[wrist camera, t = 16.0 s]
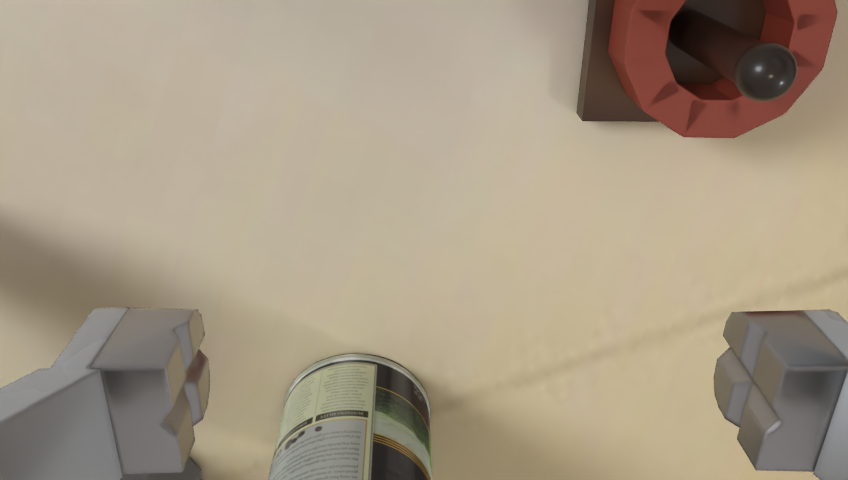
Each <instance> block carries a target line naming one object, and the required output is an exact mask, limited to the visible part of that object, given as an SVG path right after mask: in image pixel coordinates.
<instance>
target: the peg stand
mask: <svg viewBox="0 0 848 480" xmlns="http://www.w3.org/2000/svg"><path fill="white" fill-rule="evenodd" d="M614 3H615V0H589V8H588V17H587V25H586V34H585V43H584V52H583V61H582V70H581V79H580V88H579V97H578V105H577V114H578V116H579V117H580V118H581V120H582V121H640V122H659V121H658V120H656V119H655V118H653V117H652V116H650V115H648V114H647V113H645V112H644V111H643V110H642V109H641V108H640V107H639V106H638V105H637V104H636V103H635V102H634V101H633V100H632V99H631V98H630V97H629V96H628V95H627V94H626V93H625V90H624V88H623V86H622V83H621V81H620V79H619V76H618V74H617V72H616V69H615V67H614V65H613V62H612V60H611V57H610V55H609V53H608V46H609V39H610V32H611V25H612V17H613V10H614ZM765 15H766V11H765V8H764V5H763V2H762V0H686V1H685V3H684V4H683V5H682V7H681V8H680V9H679V11H678V12H677V13H676V15H675V16H674V18H673V19H672V20H671V24H670V29H669V35H668V41H667V47H666V53H665V54H666V57H667V59H668V62H669V65H670V67H671V70H672V72H673V75H674V77H675V80H676V81H677V82H679V83H680V84H711V83H713V82H715V81H717V80H719V79H721V78H723V77H724V78H726V79H728V80H729V81H731V82H732V83H734V84H735V85H736V87H737V89H738V90H739V92H740V93H741V94H742V95H744V96H745V97H747V98H749V99H751V100H754V101H760V102H764V101H771V100H774V99H777V98H779V97H781V96H782V95H784V94H785V93H786V92H787V91H788V90H789V89H790V88H791V87H792V85H793V83H794V81H795V79H796V76H797V62H796V59H795V57H794V55H793V54H792V53H791V51H790V50H789V49H788V48H786V47H785V46H783V45H781V44H778V43H774V42H762V41H760V38H761V33H762V29H763V24H764V20H765Z"/></svg>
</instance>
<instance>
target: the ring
mask: <svg viewBox="0 0 848 480" xmlns="http://www.w3.org/2000/svg"><path fill="white" fill-rule="evenodd" d="M685 1H686V0H615V3H614V10H613V17H612V25H611V32H610V39H609V46H608V53H609V55H610V57H611V60H612V62H613V65H614V67H615V69H616V72H617V74H618V76H619V79H620V81H621V83H622V86H623V88H624V90H625V93H626V94H627V95H628V96H629V97H630V98H631V99H632V100H633V101H634V102H635V103H636V104H637V105H638V106H639V107H640V108H641V109H642V110H643V111H644V112H645V113H647V114H648V115H650V116H652V117H653V118H655V119H656V120H658V121H659V122H661V123H662V124H664V125H665V126H667V127H668V128H670V129H672V130H673V131H675V132H676V133H678V134H679V135H681V136H683V137H705V138H735V137H737V136H740V135H742V134H744V133H746V132H748V131H750V130H752V129H754V128H756V127H758V126H760V125H762V124H764V123H766V122H769V121H771V120H773V119H775V118H777V117H779V116H781V115H783V114H784V113H786V112H787V111H788V109H789V108H790V107H791V106H792V105H793V103H794V102H795V101H796V100H797V99H798V98H799V96H800V95H801V94H802V93H803V92H804V90H805V89H806V88H807V87H808V86H809V85H810V83H811V82H812V81H813V80H814V79H815V77H816V76H817V75H818V74H819V73H820V71H821V70H822V68H823V66H824V62H825V58H826V54H827V51H828V47H829V43H830V39H831V36H832V32H833V28H834V25H835V21H836V17H837V8H836V5H835V1H834V0H762V2H763V5H764V8H765V11H766V15H765V20H764V24H763V29H762V33H761V38H760V41H762V42H774V43H778V44H781V45H783V46H785V47H786V48H788V49H789V50H790V51H791V53H792V54H793V55H794V57H795V59H796V62H797V76H796V79H795V81H794V83H793V85H792V87H791V88H790V89H789V90H788V91H787V92H786V93H785V94H784V95H782V96H781V97H779V98H777V99H774V100H771V101H764V102H760V101H754V100H751V99H749V98H747V97H745V96H744V95H742V94H741V93H740V92H739V90H738V89H737V87H736V85H735V84H734V83H732V82H731V81H729V80H728V79H726V78H724V77H723V78H721V79H719V80H717V81H715V82H713V83H711V84H680V83H679V82H677V81H676V80H675V77H674V75H673V72H672V70H671V67H670V65H669V62H668V59H667V57H666V54H665V53H666V47H667V41H668V35H669V29H670V24H671V20H672V19H673V18H674V16H675V15H676V13H677V12H678V11H679V9H680V8H681V7H682V5H683V4H684V3H685Z"/></svg>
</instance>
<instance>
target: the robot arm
mask: <svg viewBox="0 0 848 480" xmlns="http://www.w3.org/2000/svg"><path fill="white" fill-rule="evenodd" d="M204 335H205V332H204V326H203V320H202V315H201V314H200V312H199V311H198V309H157V308H132V309H131V308H129V307H127V308H98V309H94V310H93V311H92V312H91V313H90V314H89V316H88V317H87V318H86V320H85V321H84V323H83V324H82V325H81V327H80V328H79V329H78V331H77V332H76V334H75V335H74V336H73V338H72V339H71V340H70V342H69V343H68V345H67V346H66V347H65V349H64V350H63V351H62V353H61V354H60V356H59V357H58V358H57V360H56V361H55V363H54V364H53V365H52V367H51V368H50V369H38V370H36V371H34V372H32V373H30V374H28V375H26V376H24V377H22V378H20V379H18V380H16V381H14V382H12V383H10V384H8V385H6V386H4V387H2V388H0V480H120V479H121V478H122V474H145V473H178V472H183V471H184V468H185V465H186V463H187V460H188V457H189V455H190V452H191V449H192V447H193V444H194V441H195V436H194V429H193V426H194V425H196V424H197V423H198V422H200V421H201V420H203V417H204V414H205V411H206V408H207V404H208V398H209V391H210V370H209V362H208V358H207V357H206V356H205V355H204V354H203V353H202V352H201V351H200V350H199V347H200V344H201V342H202V340H203V337H204ZM723 336H724V338H725V340H726V341H727V343H728V345H729V346H730V347H729V348H728V349H727V350H726V351H725V352H724V353H723V354H722V355H721V356H720V357H719V358H718V359H717V363H716V368H715V373H714V391H715V397H716V400H717V404H718V407H719V409H720V411H721V412H722V414H723V416H724V418H725V419H726V420H728V421H730V422H731V423H733V424H734V425H736V426H738V427H739V428H740V429H739V433H738V437H737V440H738V441H739V443H740V445H741V446H742V448H743V450H744V451H745V453H746V455H747V456H748V458H749V460H750V461H751V463H752V465H753V466H754V468H755V470H766V471H809V472H814V473H813V474H814V475H815V476H816V477H818V478H819V479H820V480H848V323H847V322H846V321H845V320H844V319H843V318H842V317H841V316H840V315H839V314H838V313H837V312H834V311H832V310H829V309H824V310H797V311H754V312H732V313H731V314H730V316H729V318H728V319H727V321H726V325H725V329H724V333H723Z"/></svg>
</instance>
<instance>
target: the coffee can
mask: <svg viewBox="0 0 848 480" xmlns="http://www.w3.org/2000/svg"><path fill="white" fill-rule="evenodd" d="M268 480H432V461H431V438H430V405H429V401H428V398H427V395H426V393H425V390H424V389H423V387H422V385H421V384H420V382H419V381H418V380H417V379H416V378H415V377H414V376H413V375H412V374H411V373H410V372H409V371H407V370H406V369H405V368H403V367H401V366H400V365H398V364H396V363H394V362H392V361H390V360H387V359H385V358H381V357H378V356H374V355H368V354H345V355H338V356H334V357H330V358H327V359H324V360H322V361H319V362H317V363H315V364H313V365H312V366H310V367H309V368H308V369H306V370H305V371H303V372H302V373H301V374H300V375H299V376H298V377H297V378H296V379H295V380H294V382H293V384H292V385H291V387H290V388H289V390H288V392H287V395H286V398H285V400H284V407H283V416H282V420H281V425H280V429H279V434H278V438H277V442H276V447H275V451H274V456H273V460H272V464H271V468H270V473H269V477H268Z"/></svg>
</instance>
